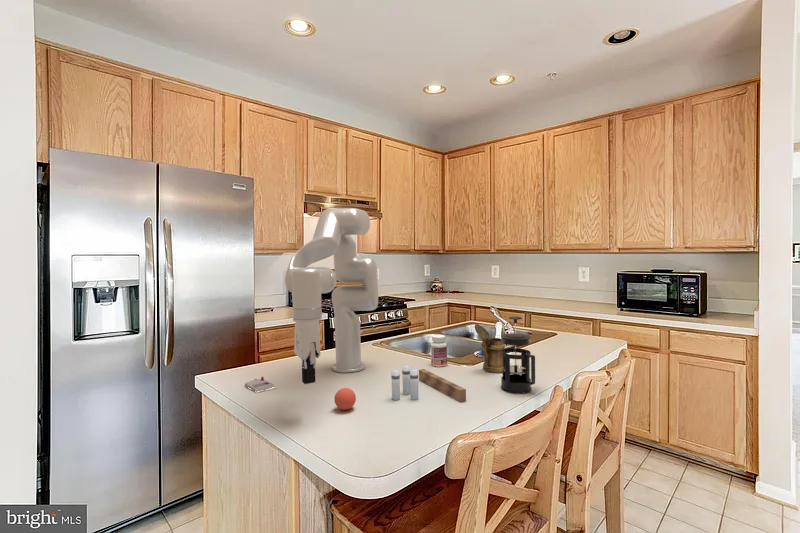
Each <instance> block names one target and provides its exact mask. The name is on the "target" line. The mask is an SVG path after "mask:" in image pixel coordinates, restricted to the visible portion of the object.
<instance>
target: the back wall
mask: <svg viewBox="0 0 800 533" xmlns="http://www.w3.org/2000/svg"><path fill="white" fill-rule="evenodd" d="M418 381H421V382H422V383H424V384H425V385H427V384H428V386H429V387H432V388H433V389H435V390H436V391H439V392H440V391H441V393H442V392H443V393H442V394H444V395H447V396H448V397H450V398H451V399H453V398H454V399H453V400H456V401H458V402H459V403H463V402H467V389H466V388H465V387H462V386H461V385H458V384H456V383H454V382H452V381H449V380H447V379H445V378H444V377H441V376H439V375H437V374H435V373H433V372H431V371H429V370H427V369H425V368H422V369H418Z"/></svg>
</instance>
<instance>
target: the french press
mask: <svg viewBox="0 0 800 533" xmlns="http://www.w3.org/2000/svg"><path fill="white" fill-rule="evenodd" d="M508 319H509V320H513V324H514V333H511V332H510V333H504V334H501V335H500V338H501V339H502V340H503V344H504V345H507V346H512V347H511V348H509V347H508V348H504V349H503V350H501V356H503V368H502V369H503V373H502V376H501V379H500V380H501V385H500V389H501V390H502V391H503V392H506V393H508V394H515V395H524V394H529V393H531V392H532V390H533V389H532V387H531V386H532V385H535V384H536V355H534V354H531V351H530V350H527V349H525V348H517V346H519V347H523V346H528V345H529V344H530V339H531V336H530V335H529V334H524V333H517V324H518V320H522V319H523V317H521V316H517V315H515V316H509V317H508ZM513 346H514V347H513ZM509 353H510V354H509ZM511 353H514V354H511ZM517 353H518V354H517ZM519 353H520V354H519ZM511 360H514V365H513V364H511ZM517 360H520V361H521V362H520V363H521V365H517Z"/></svg>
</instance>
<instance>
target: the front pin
mask: <svg viewBox="0 0 800 533" xmlns="http://www.w3.org/2000/svg"><path fill="white" fill-rule="evenodd" d="M400 376H401V375H400V370H399V369H392V370H391V377H390V378H391V400H393V401H399V400H400V399H401V389H400V388H401V386H400V385H401V384H400V383H401V381H400Z"/></svg>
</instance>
